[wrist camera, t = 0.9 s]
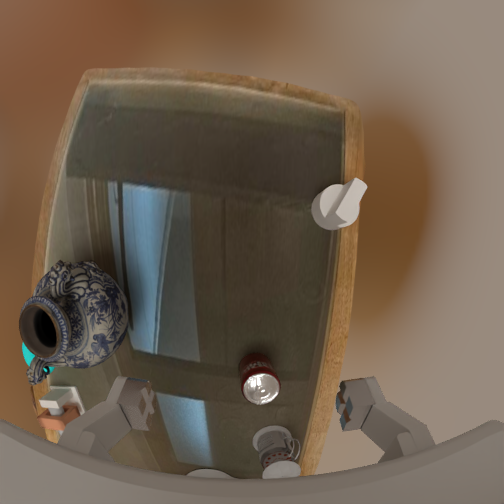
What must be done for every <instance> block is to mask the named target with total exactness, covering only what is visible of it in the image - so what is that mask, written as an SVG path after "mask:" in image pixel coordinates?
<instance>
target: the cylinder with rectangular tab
mask: <svg viewBox="0 0 504 504" xmlns="http://www.w3.org/2000/svg"><path fill="white" fill-rule="evenodd" d="M366 189H367V185H366V184H365V183H364V182H362V181H361V180H359V179H358V178H354V179H352V180H351V181H349V182H348V183H346V184H345V185H340V184H335V185H331V186H329V187H328V188H326V189H325V190H323V191H322V192H321V193H319V194H318V195H317V196H316V197H315V198H314V200H313V203H312V208H311V210H312V215H313V218H314V220H315V221H316V223H317V224H318V225H319V226H320V227H322V228H324V229H327V230H336V229H339V228H343V227H346V226H349V225H351V224H352V223H353V222H354V221H355V220H356V219H357V217H358V214H359V202H360V200H361V198H362V196H363V194H364V192H365V190H366Z"/></svg>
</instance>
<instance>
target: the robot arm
mask: <svg viewBox="0 0 504 504" xmlns="http://www.w3.org/2000/svg"><path fill="white" fill-rule="evenodd" d="M339 387H340V391H339V392H338V393H337V396H336V409H337V412H338V413H339V414H340V415H341V418H340V423H341V427H342V430H343V431H350V430H357V429H361V431H363V432H364V433H365V434H366V435H367V436H368V437H369V438H370V439H371V440H372V441H374V443H376V444H377V445H378V446H379V447H380V448H381V449H382V450H383V451H385V454H384V455H383V456H382V458H381V459H380V460H379V462H378V463H377V464H372V465H368V466H364V467H359V468H354V469H349V470H344V471H338V472H332V473H326V474H318V475H310V476H300V477H288V478H272V479H238V478H233V477H231V476H229V475H228V474H226V473H224V472H221V471H218V470H213V469H200V470H195V471H192V472H190V473H188V474H187V475H186V476H185V475H177V474H170V473H163V472H157V471H151V470H146V469H141V468H136V467H131V466H127V465H123V464H119V463H115V461H114V460H113V458H112V457H111V456H110V454H109V453H108V451H109V450H110V449H111V448H112V447H113V446H114V445H115V444H117V443H118V442H119V441H120V440H121V439H122V438H123V437H124V436H125V435H126V434H127V433H128V432H130V431H131V430H132V429H139V430H146V431H149V430H150V427H151V423H152V417H151V414H153V413H154V412H155V409H156V395H155V393H154V392H153V391H152V390H151V389H152V384H151V381H148V380H142V379H135V378H129V377H123V376H118V377H117V378H116V379H115V381H114V383H113V386H112V388H111V390H110V392H109V394H108V397H107V399H106V401H102V402H100V403H99V404H97V405H96V406H94V407H93V408H91V409H90V410H88V411H86V412H85V413H83V414H82V415H80V416H79V417H77V418H76V419H74V420H72V421H71V422H69V423H68V424H66V427H65V429H64V431H63V433H62V435H61V437H60V439H59V441H58V443H57V444H56V443H53V442H51V441H48V440H46V439H43V438H41V437H39V436H36V435H34V434H32V433H30V432H28V431H26V430H24V429H21V428H20V427H17V426H16V425H14V424H12V423H10V422H7V421H6V420H3V419H0V504H504V423H502V422H500V421H497V420H490V421H488V422H486V423H484V424H482V425H480V426H478V427H476V428H475V429H472V430H470V431H468V432H466V433H464V434H462V435H459V436H457V437H454V438H452V439H450V440H447V441H445V442H442V443H440V444H438V445H435V443H434V440H433V438H432V436H431V434H430V432H429V430H428V428H427V426H426V425H425V424H423V423H422V422H420V421H419V420H417V419H416V418H414V417H412V416H411V415H409V414H408V413H406V412H405V411H403V410H402V409H400V408H399V407H397V406H395V405H394V404H392V403H391V402H387V401H386V400H385V397H384V395H383V393H382V391H381V388H380V386H379V384H378V382H377V380H376V378H375V377H374V376H373V377H367V378H359V379H352V380H345V381H342V382H341V383H340V386H339ZM131 428H132V429H131Z"/></svg>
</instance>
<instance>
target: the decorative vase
mask: <svg viewBox="0 0 504 504" xmlns="http://www.w3.org/2000/svg"><path fill="white" fill-rule="evenodd" d="M127 327H128V301H127V298H126V296H125V294H124V292H123V291H122V290H121V288H120V287H119V286H118V284H117V283H116V282H115V281H114V279H113V278H112V277H110V276H109V275H108V274H107V273H105V272H104V271H103V270H101V269H100V268H99V267H98V265H97V264H96V262H95V261H91V260H90V261H85V262H83V261H82V262H78V263H74V264H71V263H70V262H68V261H67V262H65V263H64V262H62V261H61V260H60V261H58V263H56V264H55V265H54V266H53V267H52V268H51V270H50V271H49V272H48V273H47V274H46V275H45V276H44V277H43V278H42V279H41V280H40V281H39V283H38V284H37V286H36V288H35V290H34V293H33V296H32V297H31V298H29V299H28V300H27V301H26V302H25V304H24V305H23V307H22V310H21V313H20V319H19V329H20V334H21V338H22V340H23V342H24V344H25V346H26V347H27V349H28V350H29V351H30V352H31V353H32V354H34V355H35V357H34V358H33V359H32V361H31V363H30V366H29V369H28V370H27V373H26V374H27V376H28V379H29V383H30V384H31V385H36V384H38V383H41V382H42V381H43V380H44V379H46V378H47V376H46V375H48V374H50V369H49V367H61V366H69V367H73V368H89V367H93V366H96V365H98V364H100V363H102V362H104V361H105V360H107V359H108V358H109V357H110V356H111V355H113V353H114V352H115V351H116V350H117V349H118V347H119V346H120V345H121V343H122V341H123V339H124V337H125V335H126V332H127ZM44 368H45V369H46V370H47V372H45V371H44Z"/></svg>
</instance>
